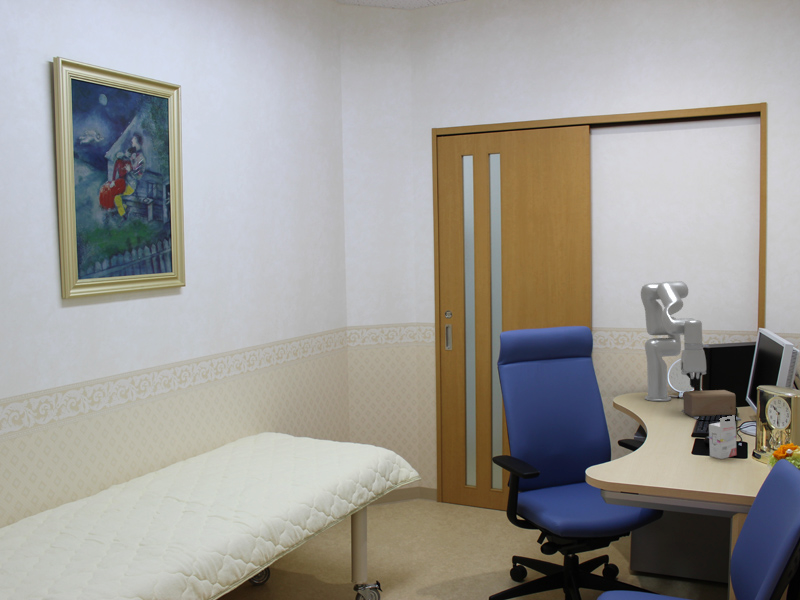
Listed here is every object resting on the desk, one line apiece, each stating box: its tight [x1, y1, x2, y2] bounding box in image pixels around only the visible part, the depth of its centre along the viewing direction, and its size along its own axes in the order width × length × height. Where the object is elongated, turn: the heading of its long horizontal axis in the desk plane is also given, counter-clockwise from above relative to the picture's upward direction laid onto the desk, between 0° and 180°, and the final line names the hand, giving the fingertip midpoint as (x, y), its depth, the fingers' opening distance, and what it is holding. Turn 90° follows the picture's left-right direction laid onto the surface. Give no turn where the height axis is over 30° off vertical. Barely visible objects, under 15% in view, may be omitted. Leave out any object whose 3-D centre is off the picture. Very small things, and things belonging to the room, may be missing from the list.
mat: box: [681, 409, 742, 421], centre depth 304 cm, size 22×18×1 cm
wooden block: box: [682, 389, 737, 417], centre depth 304 cm, size 10×10×20 cm
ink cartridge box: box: [708, 415, 737, 460], centre depth 239 cm, size 9×5×15 cm, turn 117°
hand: (694, 387), depth 304 cm, fingers closed
